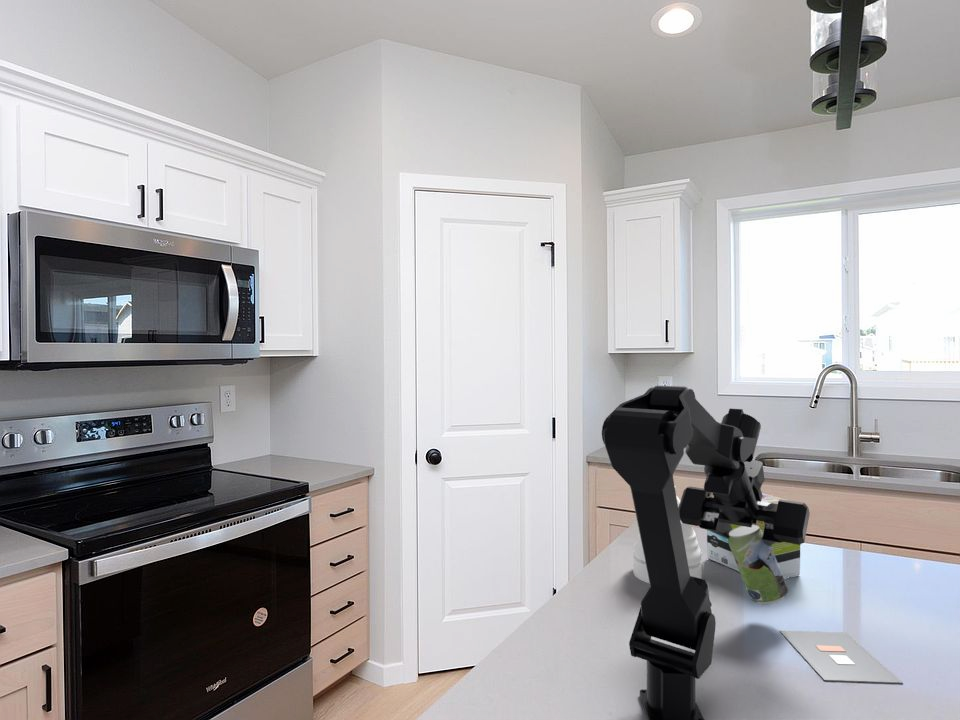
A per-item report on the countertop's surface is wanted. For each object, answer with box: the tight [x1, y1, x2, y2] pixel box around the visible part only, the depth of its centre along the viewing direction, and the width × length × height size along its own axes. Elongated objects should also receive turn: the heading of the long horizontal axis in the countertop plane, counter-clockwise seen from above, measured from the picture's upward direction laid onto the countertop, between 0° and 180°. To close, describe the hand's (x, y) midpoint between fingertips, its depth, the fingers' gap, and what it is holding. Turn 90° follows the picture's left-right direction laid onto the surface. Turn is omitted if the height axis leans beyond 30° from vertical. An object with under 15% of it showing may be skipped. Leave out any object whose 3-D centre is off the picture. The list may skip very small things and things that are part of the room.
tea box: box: [706, 492, 801, 580], centre depth 121 cm, size 15×10×15 cm, turn 25°
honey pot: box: [632, 485, 703, 585], centre depth 118 cm, size 13×13×18 cm
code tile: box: [779, 630, 904, 685], centre depth 87 cm, size 14×10×1 cm
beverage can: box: [728, 525, 789, 605], centre depth 98 cm, size 6×7×12 cm
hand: (750, 541), depth 100 cm, fingers closed on beverage can, 6 cm apart
